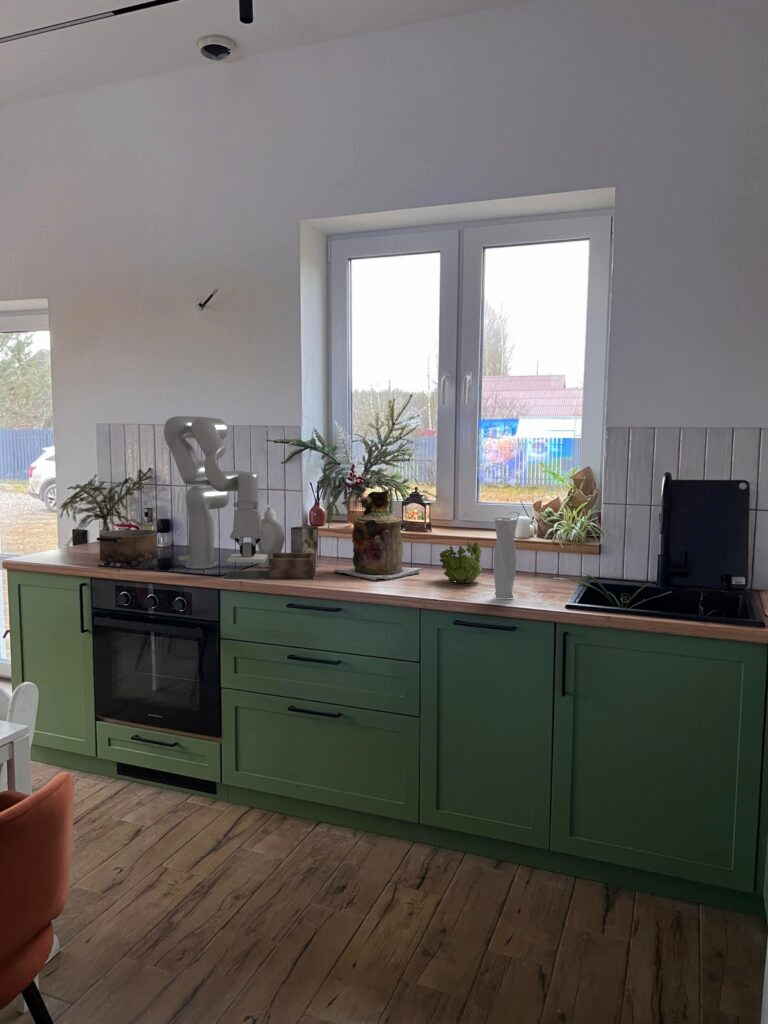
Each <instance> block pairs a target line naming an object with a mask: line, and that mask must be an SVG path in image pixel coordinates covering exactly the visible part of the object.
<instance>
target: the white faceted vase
mask: <svg viewBox="0 0 768 1024" xmlns="http://www.w3.org/2000/svg"><path fill="white" fill-rule="evenodd" d="M511 514H517V517H516V519H514V518H512V517H511V516H509V515H511ZM519 516H520V512H518V511H510V512H508V513H506V514H505V516H504V515H503V516H499V517H495V518H494V526H495V535H496V540H495V545H494V551H493V579H494V580H493V581H494V588H495V592H494V594H495V595H496V597H497V598H514V594H513V588H514V583H515V578H516V569H517V548H516V547H517V546H516V543H515V536H516V530H517V525H518V522H519V521H518V519H519V518H520V517H519ZM496 597H495V598H496ZM497 598H496V599H497Z"/></svg>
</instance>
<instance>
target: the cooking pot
mask: <svg viewBox="0 0 768 1024" xmlns="http://www.w3.org/2000/svg"><path fill="white" fill-rule="evenodd" d="M158 533H159V530H155V529H116V530H114V529H113V530H106V531H102V532H100V533H99V535H98V536H99V537H96V541H99V559H100V560H101V561H103V562H106V563H114V562H130V563H133V562H132V561H142V562H144V561H143V560H149V561H151V560H150V559H153V560H155V559H156V558H157V557H158V542H157V541H158V535H157V534H158ZM154 558H155V559H154Z"/></svg>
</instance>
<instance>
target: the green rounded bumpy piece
mask: <svg viewBox="0 0 768 1024" xmlns="http://www.w3.org/2000/svg"><path fill="white" fill-rule="evenodd" d="M464 545H466V549H465V548H464V547H462V546H461V545H460V546H459V547H458V549H457V551H455V550H454V547H453V546H450V547H448V548H446V549H445V550H442V551H441V552H440V553H439V557H440V559H439V562H441V563H442V565H441V569H444V570H445V571H444V572H443V574H444V575H445V576H446V577H447V578H448V581H450V582H451V581H453V582H452V583H454V581H456V582H457V583H463V582H467V583H469V582H472V583H474V582H475V580H477V578H478V577H479V576H480V574H481V573H482V572H483V569H482V567H481V566H482V565H481V564H480V563H481V560H480V559H481V557H482V548H481V545H480V544H479V542H478V541H476V540H475V541H474V544H473V546H472V543H470V542H469V541H468V540H467V542H465V543H464ZM466 553H468V554H470V555H467V554H466ZM456 582H455V583H456Z"/></svg>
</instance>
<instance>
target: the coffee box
mask: <svg viewBox="0 0 768 1024" xmlns="http://www.w3.org/2000/svg"><path fill="white" fill-rule="evenodd" d="M318 528H319V526H315V525H301V526H293V527H291V526H290V553H316V568H317V566H318V567H319V552H318V551H319V544H318V543H319V539H318V538H319V537H318V536H319V534H318V533H319V529H318Z"/></svg>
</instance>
